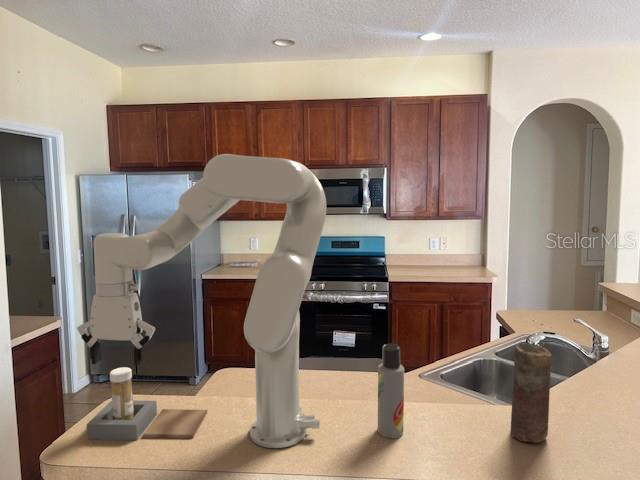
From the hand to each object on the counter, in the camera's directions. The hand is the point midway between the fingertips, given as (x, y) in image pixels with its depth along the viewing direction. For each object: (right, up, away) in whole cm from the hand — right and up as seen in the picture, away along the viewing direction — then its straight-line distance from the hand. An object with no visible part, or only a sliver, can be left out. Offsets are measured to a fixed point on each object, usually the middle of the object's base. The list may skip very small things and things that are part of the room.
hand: (117, 362), depth 102 cm
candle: (+92, -15, -4) cm, 93 cm away
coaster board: (+13, -15, +2) cm, 20 cm away
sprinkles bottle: (+1, -15, +2) cm, 15 cm away
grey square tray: (+1, -15, +2) cm, 15 cm away
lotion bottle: (+62, -15, -1) cm, 63 cm away
